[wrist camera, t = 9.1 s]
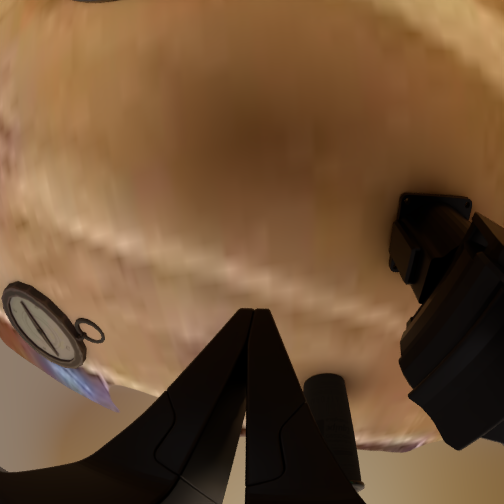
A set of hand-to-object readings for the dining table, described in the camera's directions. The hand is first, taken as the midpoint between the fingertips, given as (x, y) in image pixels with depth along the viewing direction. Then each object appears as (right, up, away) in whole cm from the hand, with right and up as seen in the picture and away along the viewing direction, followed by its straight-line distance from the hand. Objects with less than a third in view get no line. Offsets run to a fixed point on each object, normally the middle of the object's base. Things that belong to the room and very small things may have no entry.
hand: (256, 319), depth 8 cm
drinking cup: (+8, -14, +23) cm, 28 cm away
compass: (-30, -9, +26) cm, 40 cm away
